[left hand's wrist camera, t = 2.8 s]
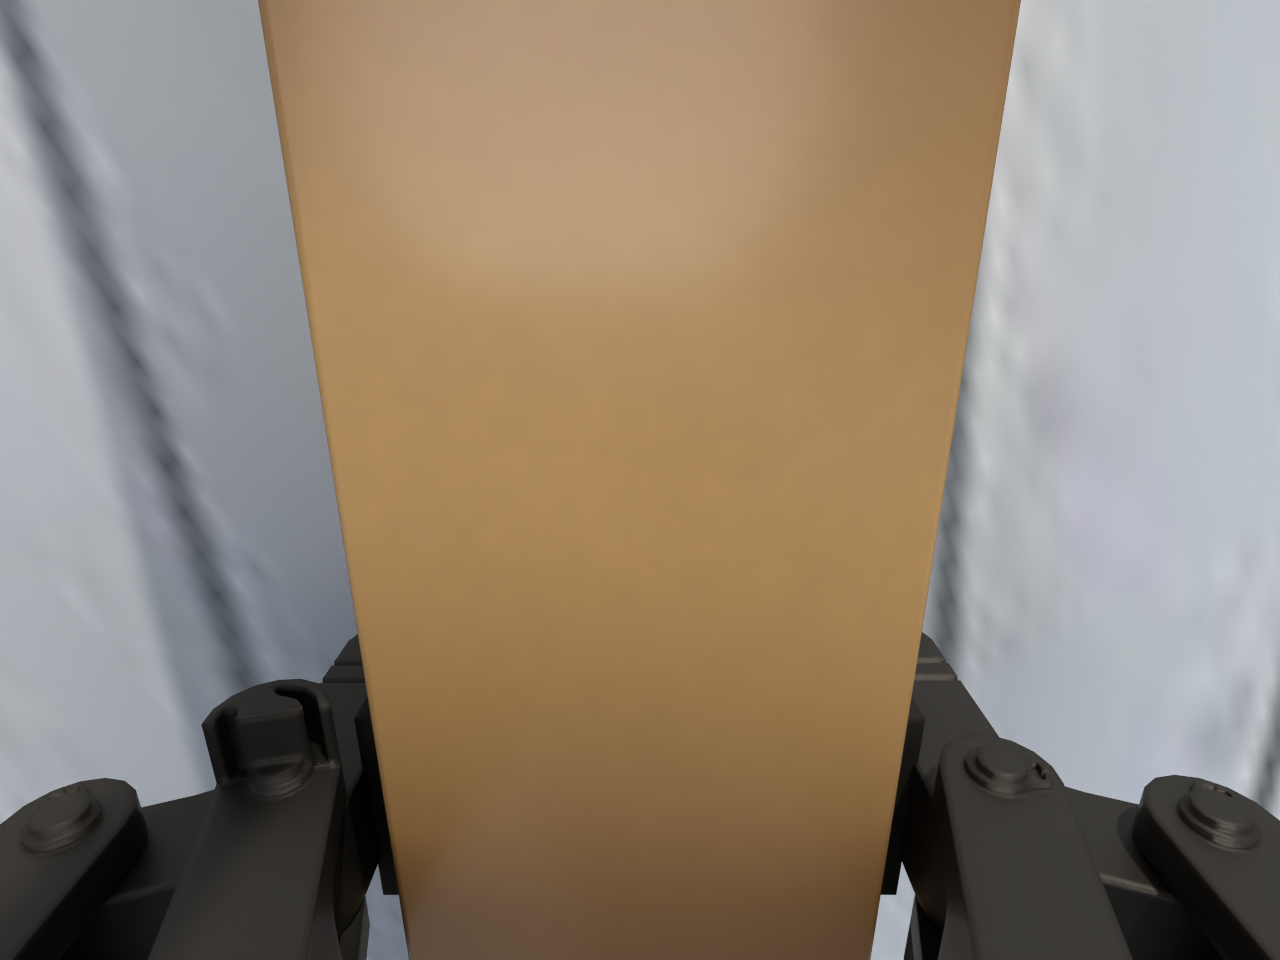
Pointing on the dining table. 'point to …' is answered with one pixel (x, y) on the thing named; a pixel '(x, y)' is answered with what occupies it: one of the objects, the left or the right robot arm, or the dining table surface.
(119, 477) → the dining table surface
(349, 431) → the bar
